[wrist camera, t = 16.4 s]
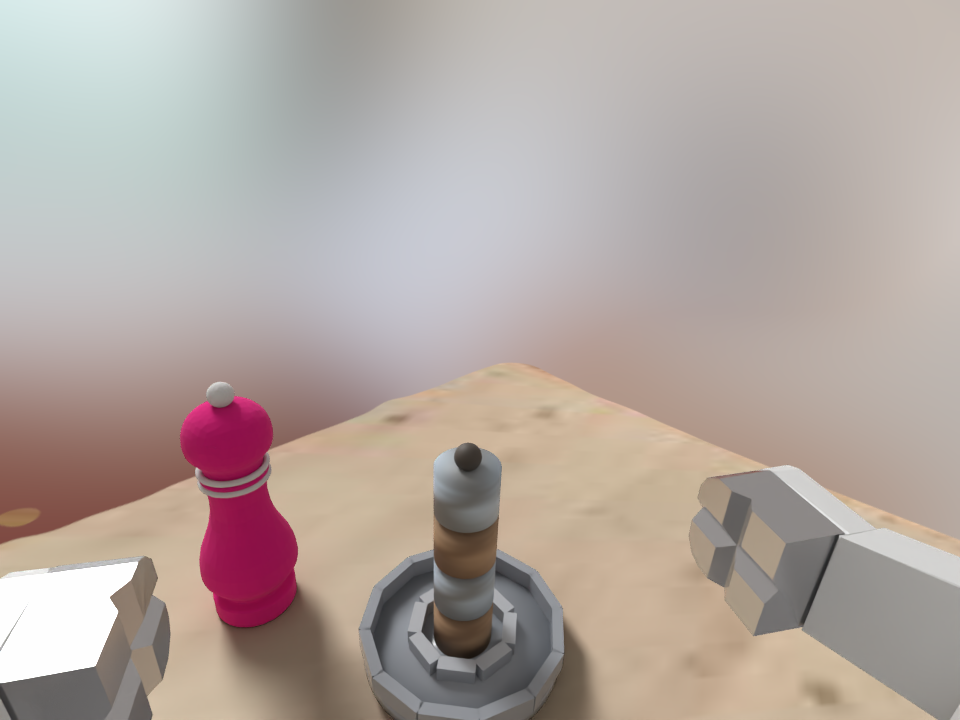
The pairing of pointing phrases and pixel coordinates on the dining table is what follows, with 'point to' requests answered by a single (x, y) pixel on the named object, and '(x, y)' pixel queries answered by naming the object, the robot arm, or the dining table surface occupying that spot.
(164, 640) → the robot arm
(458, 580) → the bead column
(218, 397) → the pepper mill
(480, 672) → the tray
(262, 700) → the dining table surface
